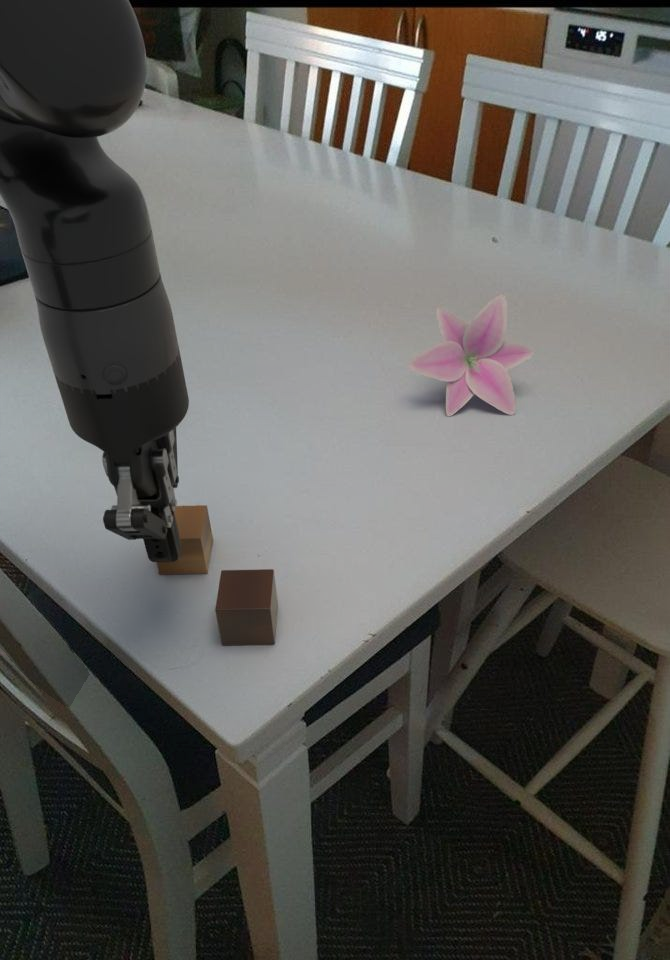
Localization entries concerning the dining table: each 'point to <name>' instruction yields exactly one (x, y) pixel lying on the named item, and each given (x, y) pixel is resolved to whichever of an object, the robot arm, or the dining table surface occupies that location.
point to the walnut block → (247, 607)
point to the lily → (474, 358)
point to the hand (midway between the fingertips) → (165, 555)
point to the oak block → (191, 542)
